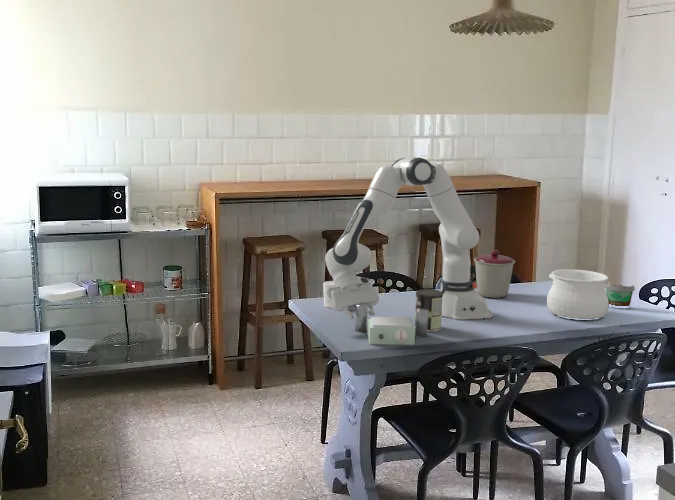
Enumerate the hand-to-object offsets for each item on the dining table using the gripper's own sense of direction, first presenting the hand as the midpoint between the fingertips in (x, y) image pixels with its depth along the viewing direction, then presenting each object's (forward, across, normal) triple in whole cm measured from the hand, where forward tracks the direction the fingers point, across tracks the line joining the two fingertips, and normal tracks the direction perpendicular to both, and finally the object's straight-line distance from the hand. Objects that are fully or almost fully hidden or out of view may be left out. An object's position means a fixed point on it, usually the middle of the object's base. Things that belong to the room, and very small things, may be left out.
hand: (362, 316), depth 293 cm
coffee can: (+11, +24, -3) cm, 27 cm away
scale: (+14, +3, -6) cm, 15 cm away
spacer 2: (+15, +16, -8) cm, 23 cm away
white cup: (-21, +10, +29) cm, 37 cm away
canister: (-7, +84, +15) cm, 85 cm away
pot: (+22, +91, -14) cm, 95 cm away
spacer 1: (+4, 0, +4) cm, 5 cm away
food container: (+23, +116, -15) cm, 119 cm away
